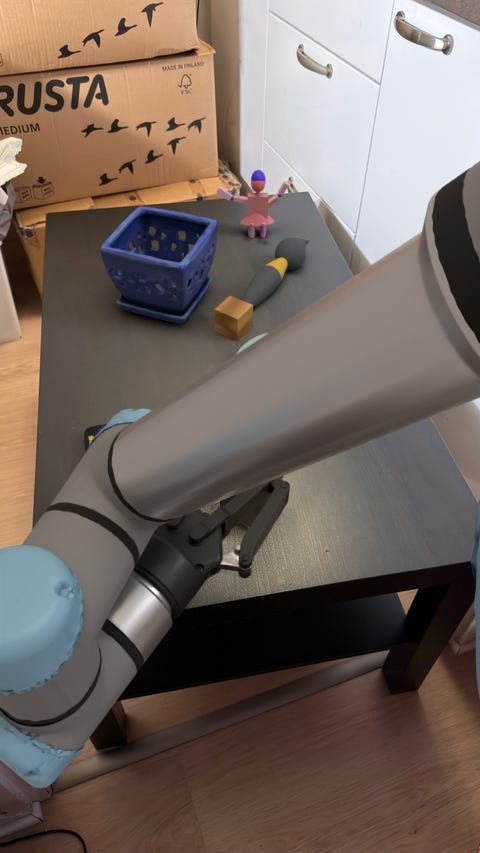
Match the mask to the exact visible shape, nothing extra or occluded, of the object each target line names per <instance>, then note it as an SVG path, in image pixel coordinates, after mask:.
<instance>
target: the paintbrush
mask: <svg viewBox="0 0 480 853" xmlns="http://www.w3.org/2000/svg"><path fill="white" fill-rule="evenodd" d="M309 242H310V240H308V239H305V238H304V239H303V238H299V237H286V238H284V239H282V240H281V241H280V242H278V244H277V245H276V247H275V251H274V260H272V261H270V262H268V263H267V264H264V266H262V267H261V268H260V269H259V270H258V272H256V274H255V275H254V276H253V277H252V279H251V280H250V282H249V283H248V285H247V287H246V289H245V290H244V291H243V294H242V296H241V299H240V300H242V301H245V302H247V303H250V304H252V305H253V308H254V307H256V306H257V305H259V304H260V303H261V302H263V301H264V300H265V299H267V297H269V296H270V295H271V294H272V293H273V292H274V291H275V290H276V289H277V287H278V286H279V285H280V284H281V283H282V280H283V278H284V276H285V274H286V271H293V270H297V269H299V268H300V267H301V266H302V265H303V263H304V262H305V259H306V254H307V253H306V252H307V248H306V246H307V245H308V244H309Z"/></svg>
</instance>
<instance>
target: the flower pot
mask: <svg viewBox="0 0 480 853" xmlns="http://www.w3.org/2000/svg"><path fill="white" fill-rule="evenodd" d="M218 224H219V223H218V220H216V219H212V218H208V217H205V216H198V215H196V214H195V215H194V214H189V213H185V212H181V211H177V210H168V209H164V208H158V207H152V206H144V205H141V206H138V207H136V209H135V210H133V211H132V212H131V213H130V214H129V215H128V216H127V217H126V218H125V219H124V220H123V221H122V222H121V223H120V225H119V226H117V228H116V229H115V230H114V231H113V232H112V233H111V234H110V235H109V236H108V237H107V238H106V240H105V241H104V242H103V243H102V245H101V246H100V250H99V251H100V254H101V255H100V256H101V259H102V262H103V264H104V267H105V270H106V272H107V274H108V277H109V278H110V280H111V282H112V284H113V285H114V286H115V288H116V289H117V291H118V292H119V293H120V295H119V297H118V298H117V299H116V301H115V304H116V305H117V307H119V308H121V309H122V310H125V311H128V312H131V313H135V314H138V315H142V316H147V317H150V318H155V319H158V320H162V321H167V322H171V323H175V324H183V323H184V322H185V321H186V320H187V319H188V317H189V316H190V315H191V314H192V312H193V311H194V309H195V308H196V306H197V305H198V304H199V302H200V301H201V300H202V298H203V297H204V295H205V293H206V292H207V290H208V289H209V288H210V286H211V284H212V282H213V277H212V276H211V275H209V273H210V270H211V268H212V265H213V262H214V258H215V254H216V251H217V250H216V249H217V242H218V232H219V229H218V228H219V227H218V226H219V225H218ZM150 227H151V228H153V229H154V230H155V233H153V232H151V231H150ZM179 232H184V233H185V234H184V235H185V238H181V237H180V236H179ZM162 233H163V235H165V237H163V235H162ZM152 241H156V242H157V243H158V248H156V247H153V243H152ZM173 244H175V248H174V247H173V246H172V245H173ZM130 245H132V248H131V246H130ZM189 245H192V247H191V248H189ZM139 248H140V250H139Z"/></svg>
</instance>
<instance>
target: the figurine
mask: <svg viewBox="0 0 480 853" xmlns="http://www.w3.org/2000/svg"><path fill="white" fill-rule="evenodd" d="M250 176H251V177H250V187H251V189H252V191H253V192H247V196H244V195H238V194H232V193H230V192H228V190H226V189H225V188H223V187H222V186H219V187H218V188H217V190H216V193H217V194H218V195H220V196H221V197H222V198H224V199H225V200H227V201H228V202H230V201H232V202H235V203H241V204H246V205H247V215H246V216H245V217H244V218H243V219H241V220H240V224H241V225H244V226H247V230H248V231H247V235H248V237H249V238H250V239H254V238H255V237H256V227H259V236H260V238H262V239H265V238H266V237H267V236H266V235H267V226H269V225H272V224H274V223H275V219H273V218H272V217H271V216H270V215H269V208H270V207H272V206H273V205H275V204H276V203H278V202H279V201H280V199H281V197H283V196H284V195H285V193H286V191H287V189H288V188H289V186H290V184H289V182H288V181H285V180H284V181H283V182H282V184H281V186H280V187H279V189H278V191H277V192H276V194H274V195H272V196H271V197H270V198H269V192H263V191H264V189H265V187H266V181H267V180H266V175H265V173H264V171H262V170H260V169H256V170H254V171H253V172H252V173H251V175H250Z"/></svg>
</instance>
